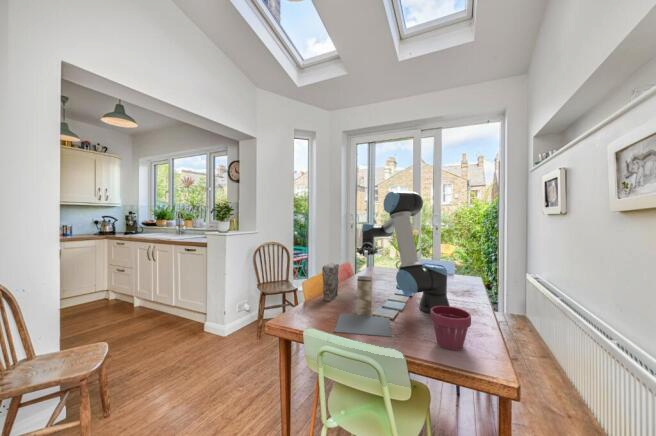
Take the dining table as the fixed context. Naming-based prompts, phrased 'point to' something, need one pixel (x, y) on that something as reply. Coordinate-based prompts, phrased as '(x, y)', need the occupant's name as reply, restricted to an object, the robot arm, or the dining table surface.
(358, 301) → the birch block
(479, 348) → the dining table surface
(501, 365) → the dining table surface
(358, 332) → the slate mat
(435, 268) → the robot arm
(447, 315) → the plant pot
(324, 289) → the stone block
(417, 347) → the dining table surface
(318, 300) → the dining table surface
